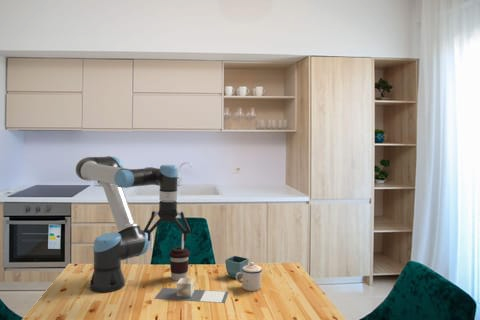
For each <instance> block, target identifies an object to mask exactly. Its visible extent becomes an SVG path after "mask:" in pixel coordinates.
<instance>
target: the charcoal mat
mask: <svg viewBox="0 0 480 320" xmlns="http://www.w3.org/2000/svg"><path fill="white" fill-rule="evenodd" d="M229 294H230V292H229V291H227V290H226V291H223V290H221V291H220V290H209V289H208V290H204V289H194V293H193V295H192V297H191V298H185V297H177V287H176V288H174V287H162V288H161V289H160V291H159V292H158V293H157V294H156V296H154V298H153V299H154V300H166V301H167V300H168V301H170V300H171V301H182V302H183V301H186V302H188V301H189V302H201V303H203V302H204V303H215V304H216V303H217V304H226V301H227V298H228V295H229Z"/></svg>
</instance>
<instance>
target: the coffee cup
mask: <svg viewBox="0 0 480 320" xmlns="http://www.w3.org/2000/svg"><path fill="white" fill-rule="evenodd" d="M190 255H191V252H190V250H188V249H187V248H186V247H184V249H182V246H179V247H178V246H177V247H173V248H172V249H171V250H170V251H169V252H168V257H169V258H170V259H169V267H170V277H171V280H172V281H175V282H178V281H179V280H180V278H188V271H189V263H190V262H189V260H190V259H189V257H190Z"/></svg>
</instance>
